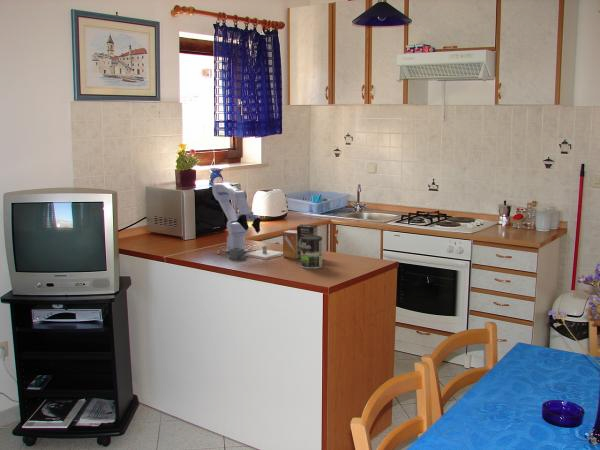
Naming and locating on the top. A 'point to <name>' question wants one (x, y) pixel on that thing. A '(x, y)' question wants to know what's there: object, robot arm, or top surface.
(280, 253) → the pin plate
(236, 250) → the jaw block
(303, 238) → the coffee can
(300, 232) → the coffee box
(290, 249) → the small box
